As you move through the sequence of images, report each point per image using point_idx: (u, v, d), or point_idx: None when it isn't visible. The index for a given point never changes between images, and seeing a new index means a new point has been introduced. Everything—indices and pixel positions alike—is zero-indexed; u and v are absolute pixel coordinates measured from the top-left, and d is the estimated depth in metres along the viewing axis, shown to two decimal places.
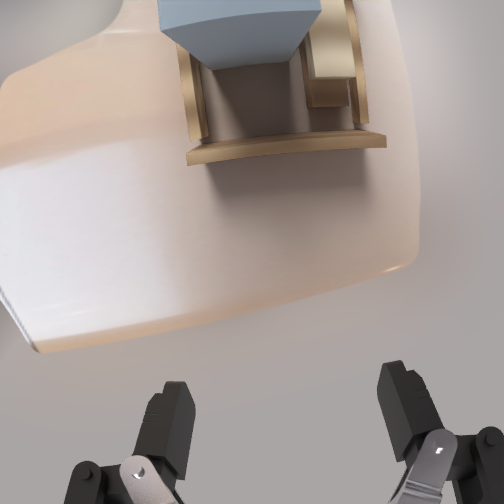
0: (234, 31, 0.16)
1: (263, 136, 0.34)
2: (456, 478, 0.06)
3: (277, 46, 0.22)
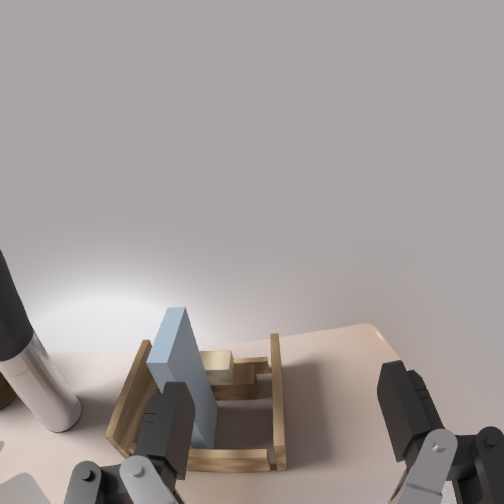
0: (184, 360, 0.32)
1: None
2: (456, 478, 0.06)
3: (202, 378, 0.38)
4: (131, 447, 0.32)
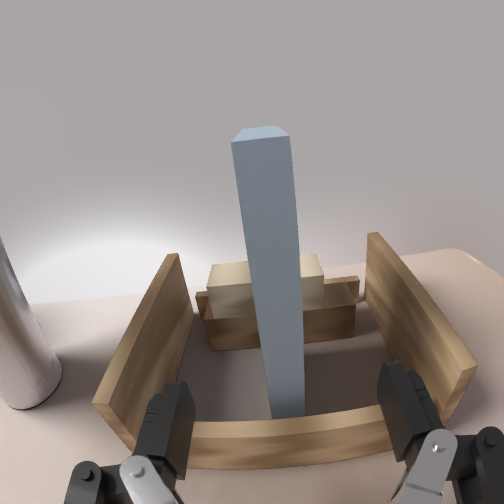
0: None
1: None
2: (456, 478, 0.06)
3: None
4: None
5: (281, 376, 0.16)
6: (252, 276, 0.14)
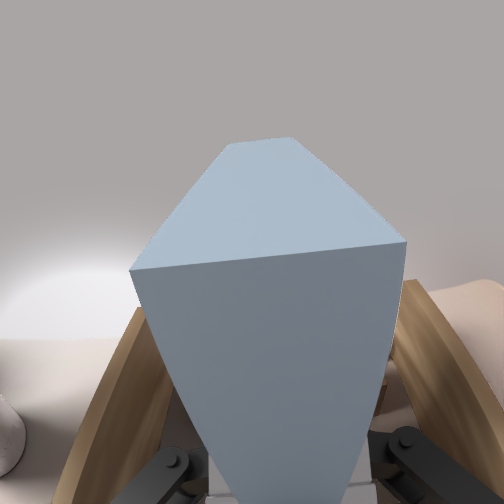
0: None
1: None
2: (376, 476, 0.08)
3: None
4: None
5: None
6: None
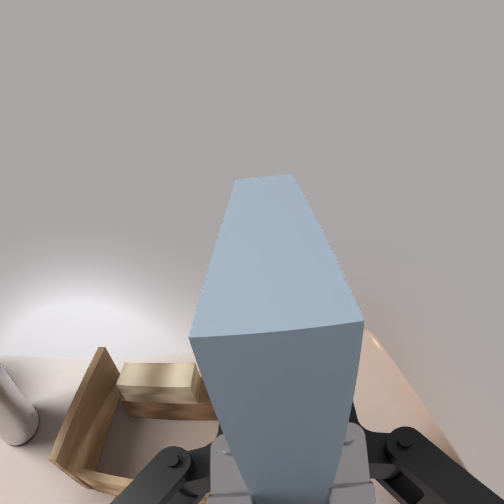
0: None
1: None
2: (374, 477, 0.08)
3: None
4: (79, 473, 0.23)
5: None
6: (252, 492, 0.06)
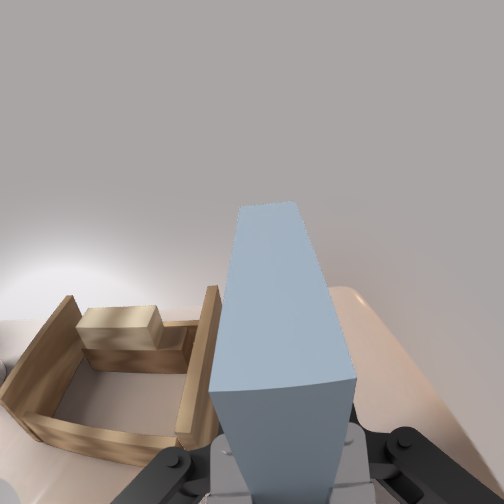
0: None
1: None
2: (374, 477, 0.08)
3: None
4: (25, 416, 0.22)
5: None
6: (257, 502, 0.07)
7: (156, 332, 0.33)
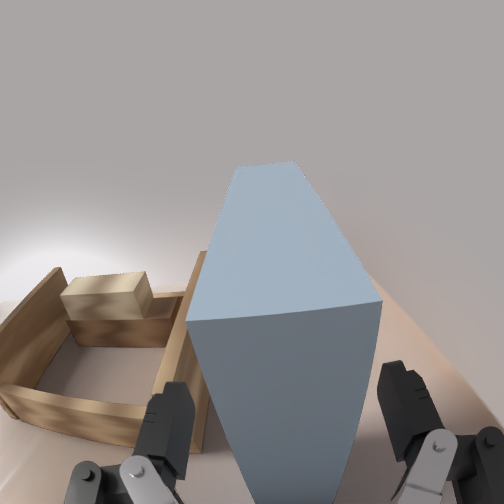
0: None
1: None
2: (456, 478, 0.06)
3: None
4: None
5: None
6: (254, 493, 0.06)
7: (144, 300, 0.31)
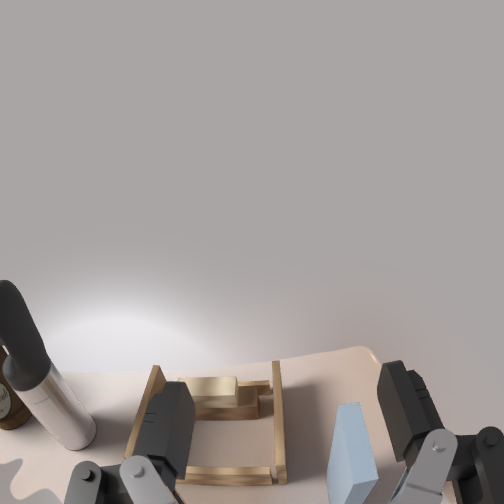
0: None
1: None
2: (456, 478, 0.06)
3: None
4: None
5: None
6: (345, 501, 0.21)
7: (237, 395, 0.47)
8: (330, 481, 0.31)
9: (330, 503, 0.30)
